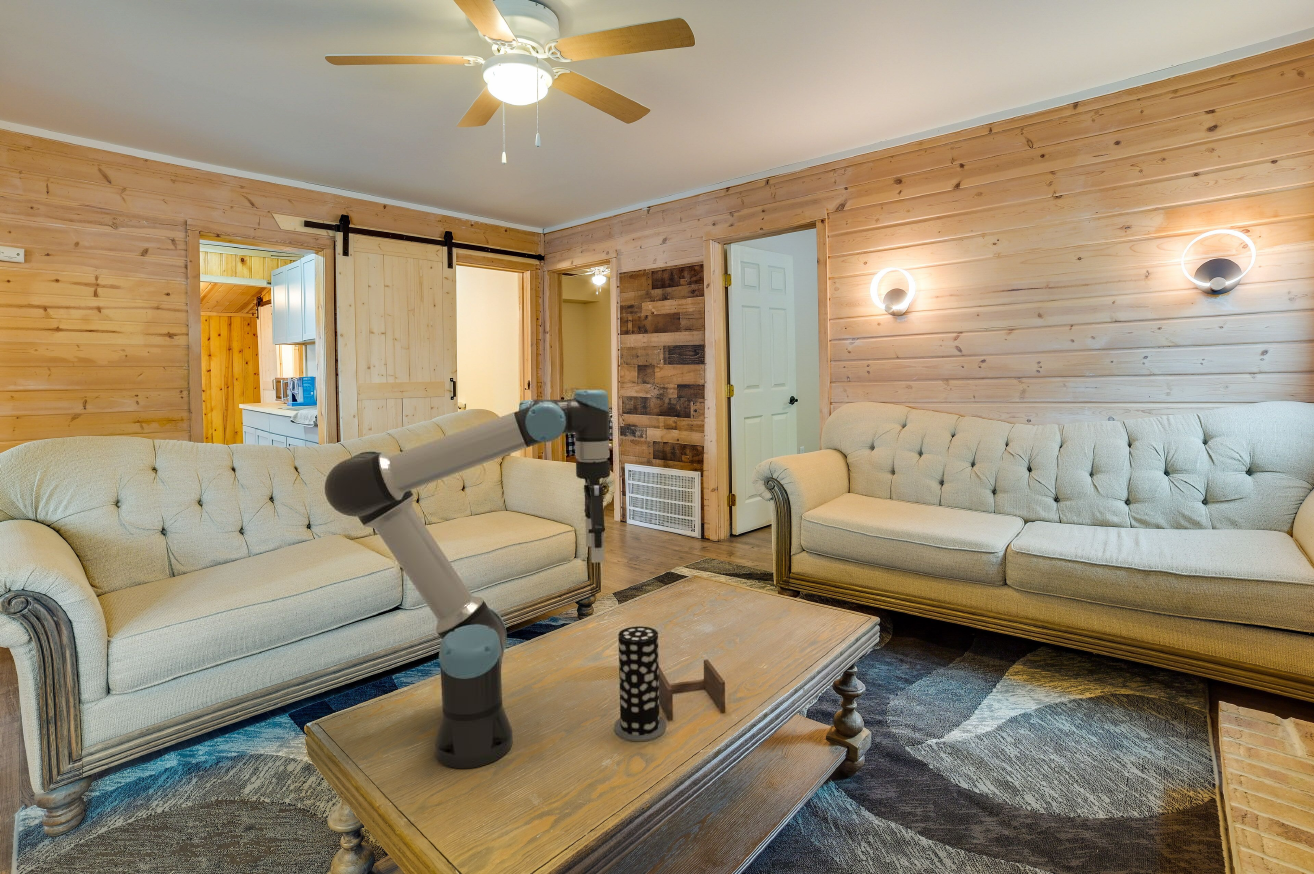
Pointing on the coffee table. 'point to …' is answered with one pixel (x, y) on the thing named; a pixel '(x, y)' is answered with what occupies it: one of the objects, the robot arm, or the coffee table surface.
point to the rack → (709, 683)
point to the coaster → (640, 737)
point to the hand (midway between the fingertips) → (594, 553)
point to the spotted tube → (639, 680)
